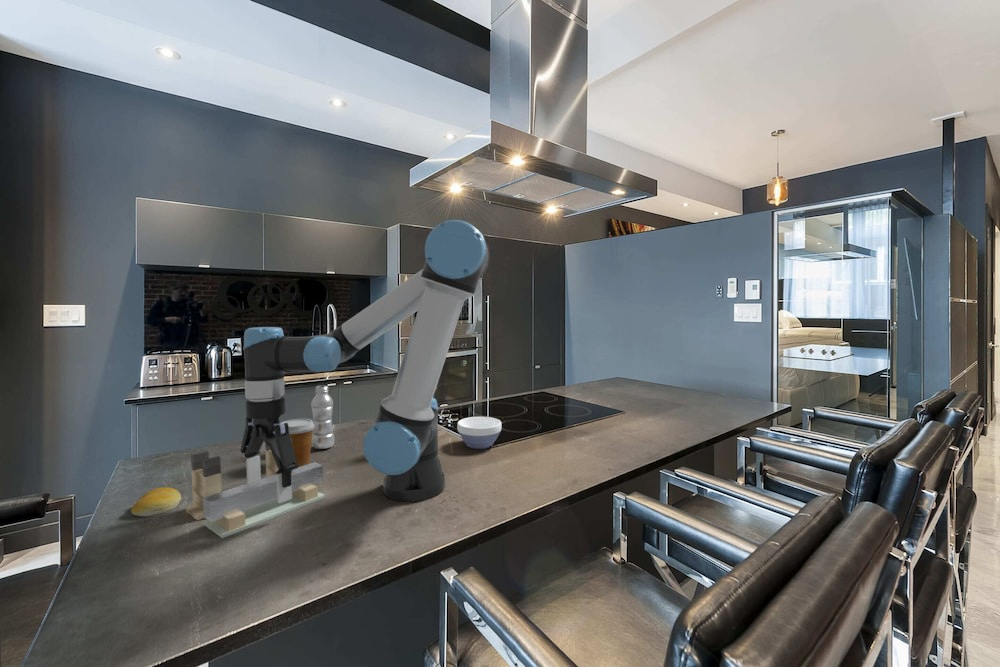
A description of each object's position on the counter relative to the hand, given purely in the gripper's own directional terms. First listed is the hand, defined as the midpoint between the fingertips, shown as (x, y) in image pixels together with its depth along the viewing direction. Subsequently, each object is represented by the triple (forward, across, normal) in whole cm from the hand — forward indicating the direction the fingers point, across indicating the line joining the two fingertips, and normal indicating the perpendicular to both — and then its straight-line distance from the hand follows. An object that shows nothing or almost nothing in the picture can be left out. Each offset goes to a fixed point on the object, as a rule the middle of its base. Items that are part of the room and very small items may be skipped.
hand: (268, 492), depth 94 cm
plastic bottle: (+4, +28, -31) cm, 42 cm away
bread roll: (+5, +22, +14) cm, 27 cm away
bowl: (+4, -10, -63) cm, 64 cm away
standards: (+4, +11, 0) cm, 12 cm away
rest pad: (+4, 0, 0) cm, 4 cm away
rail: (+1, 0, 0) cm, 1 cm away
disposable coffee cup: (+4, +22, -19) cm, 30 cm away
